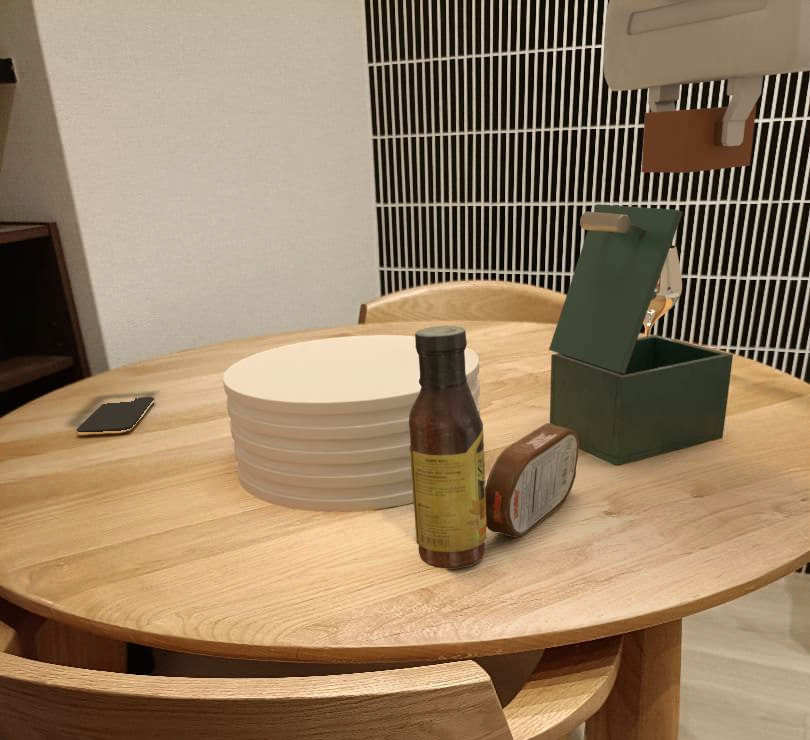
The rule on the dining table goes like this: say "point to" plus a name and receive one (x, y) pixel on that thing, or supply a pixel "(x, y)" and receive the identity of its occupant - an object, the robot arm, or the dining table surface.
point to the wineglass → (665, 290)
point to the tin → (531, 479)
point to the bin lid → (614, 283)
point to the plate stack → (329, 421)
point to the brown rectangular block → (691, 142)
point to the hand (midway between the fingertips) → (697, 147)
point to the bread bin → (643, 399)
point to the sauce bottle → (447, 454)
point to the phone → (115, 416)
